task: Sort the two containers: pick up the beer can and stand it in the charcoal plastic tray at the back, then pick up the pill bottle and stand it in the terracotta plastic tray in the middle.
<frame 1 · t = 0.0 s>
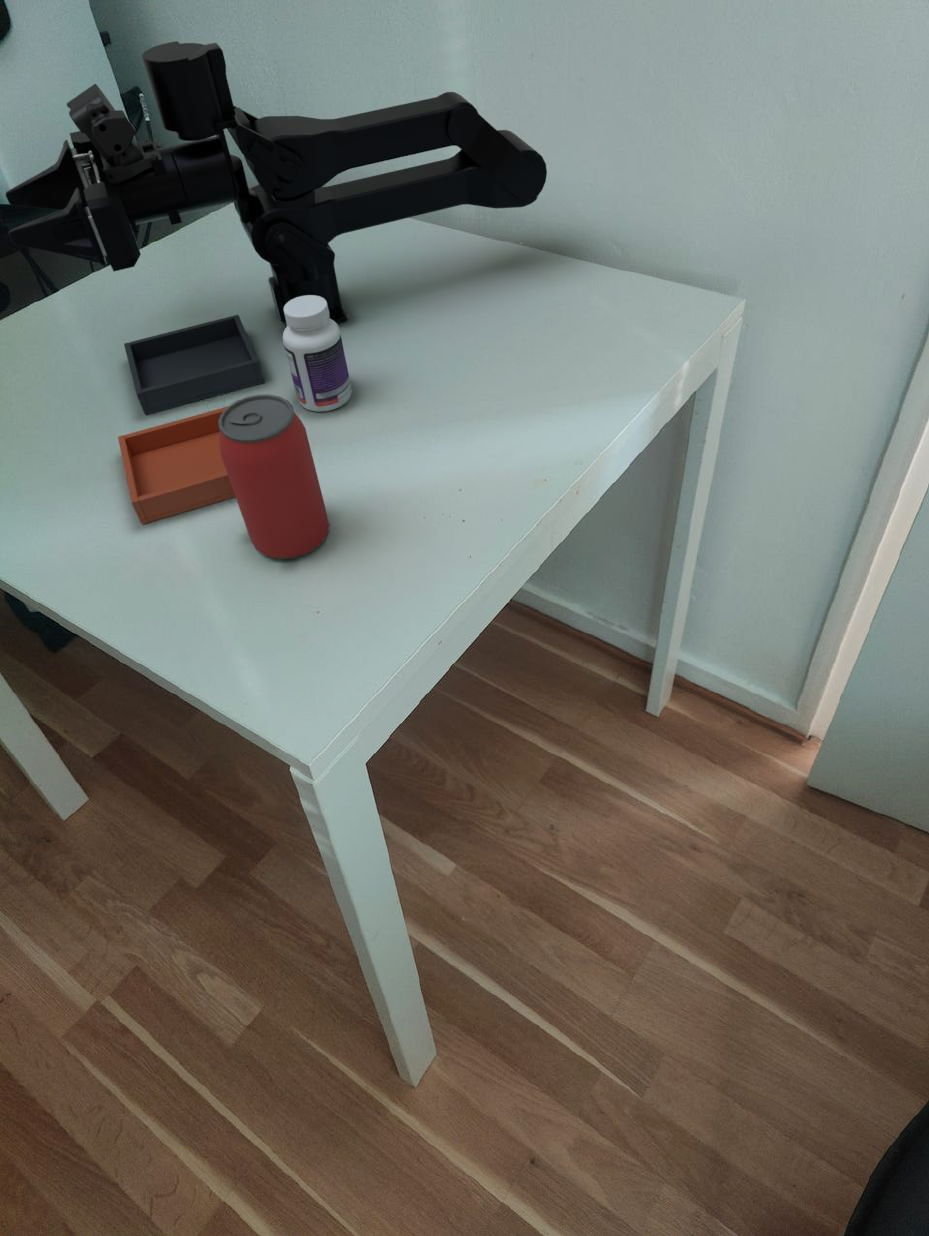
hand: (9, 217, 79), 17 cm above the table, tool horizontal, fingers open, 9 cm apart
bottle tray: (195, 472, 79), on the table
pill bottle: (325, 398, 85), on the table
beer can: (292, 537, 72), on the table
can tray: (197, 373, 90), on the table
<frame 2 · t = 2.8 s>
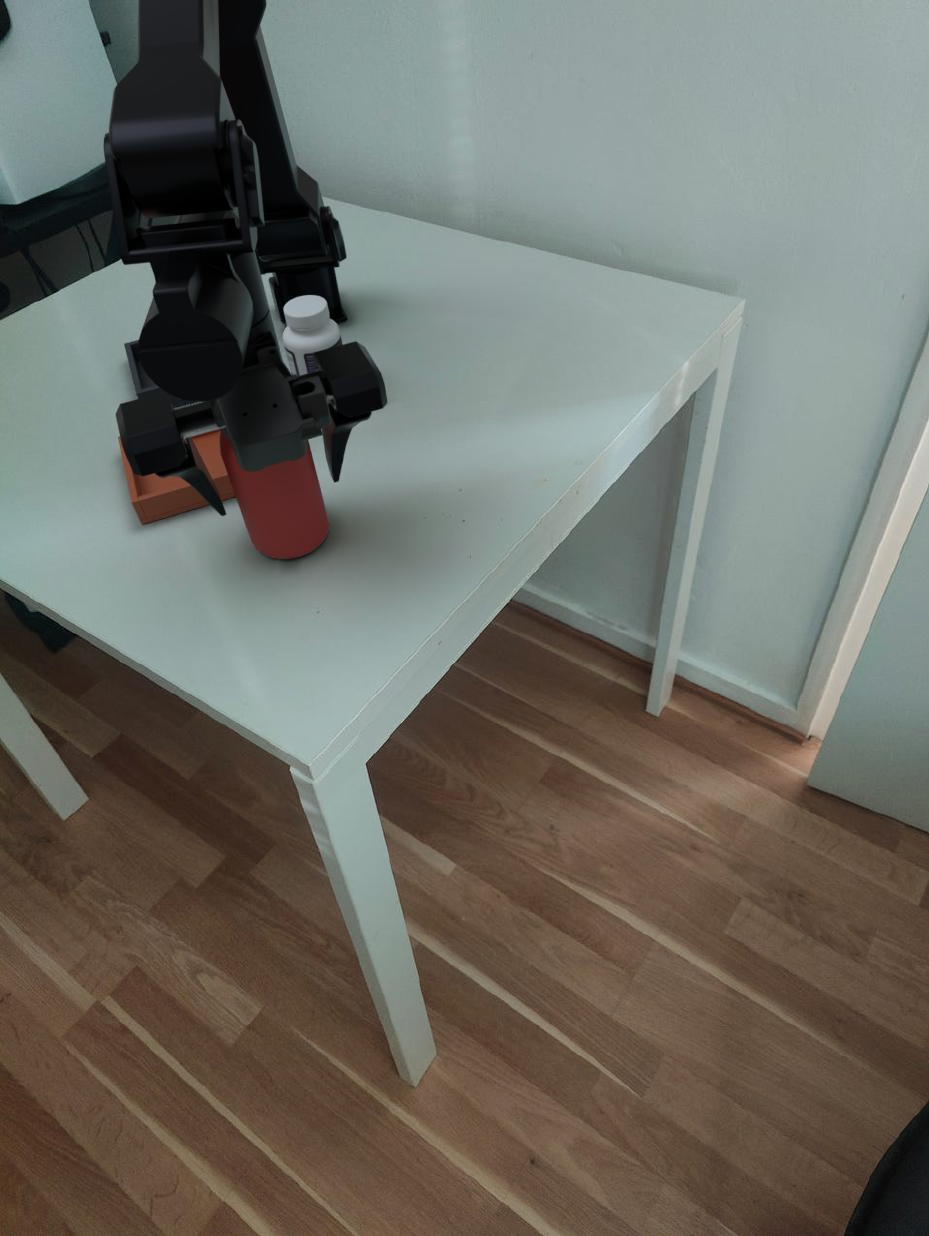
hand: (279, 495, 69), 4 cm above the table, tool pointing down
beer can: (292, 537, 72), on the table, touching gripper
everything else where it was.
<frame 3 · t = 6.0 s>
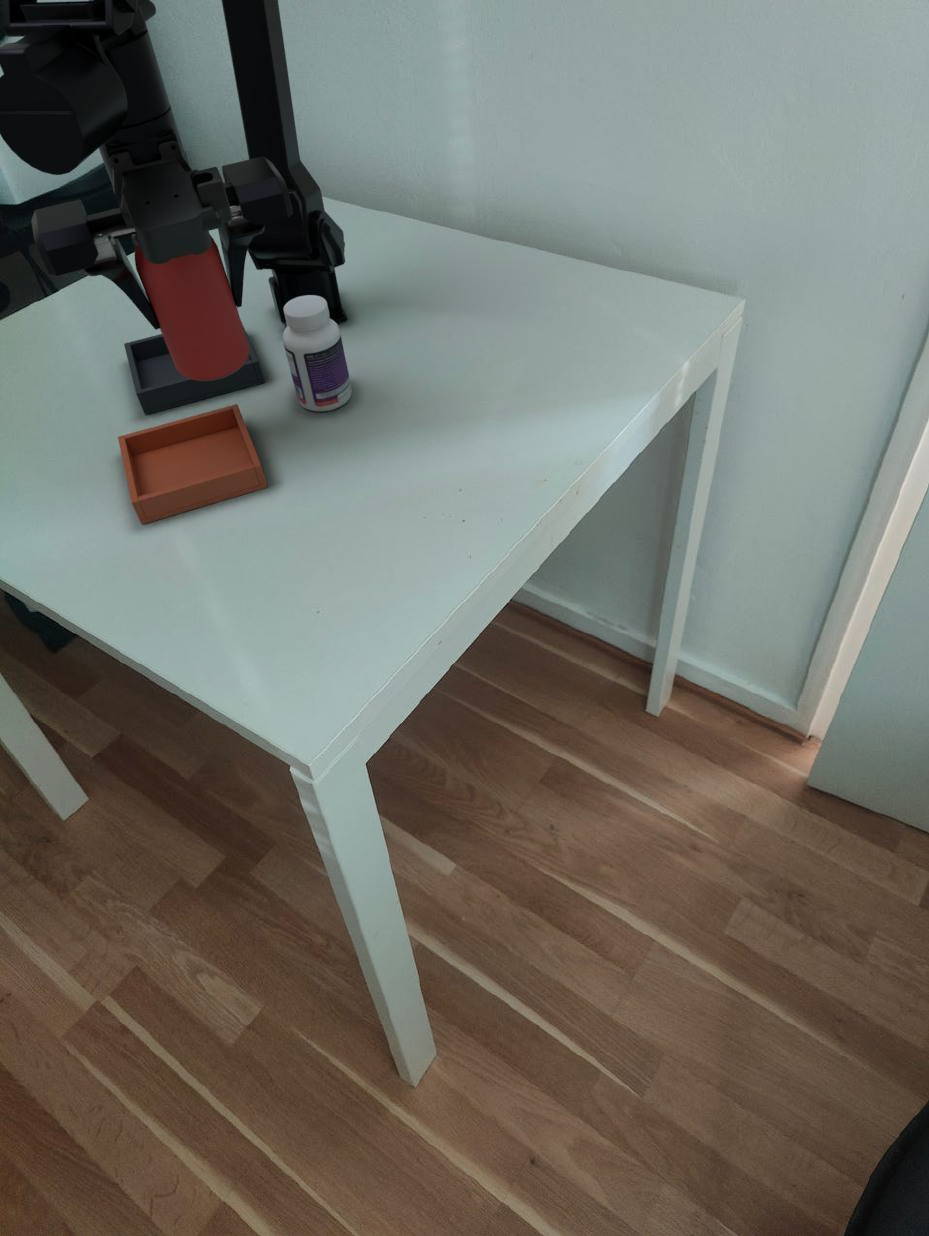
hand: (197, 315, 72), 13 cm above the table, tool pointing down, fingers closed on beer can, 6 cm apart
beer can: (215, 364, 76), point 8 cm above the table, touching gripper
everything else where it was.
when the fingers open (5 cm above the table, at t = 9.2 s): beer can stays where it is, resting on can tray.
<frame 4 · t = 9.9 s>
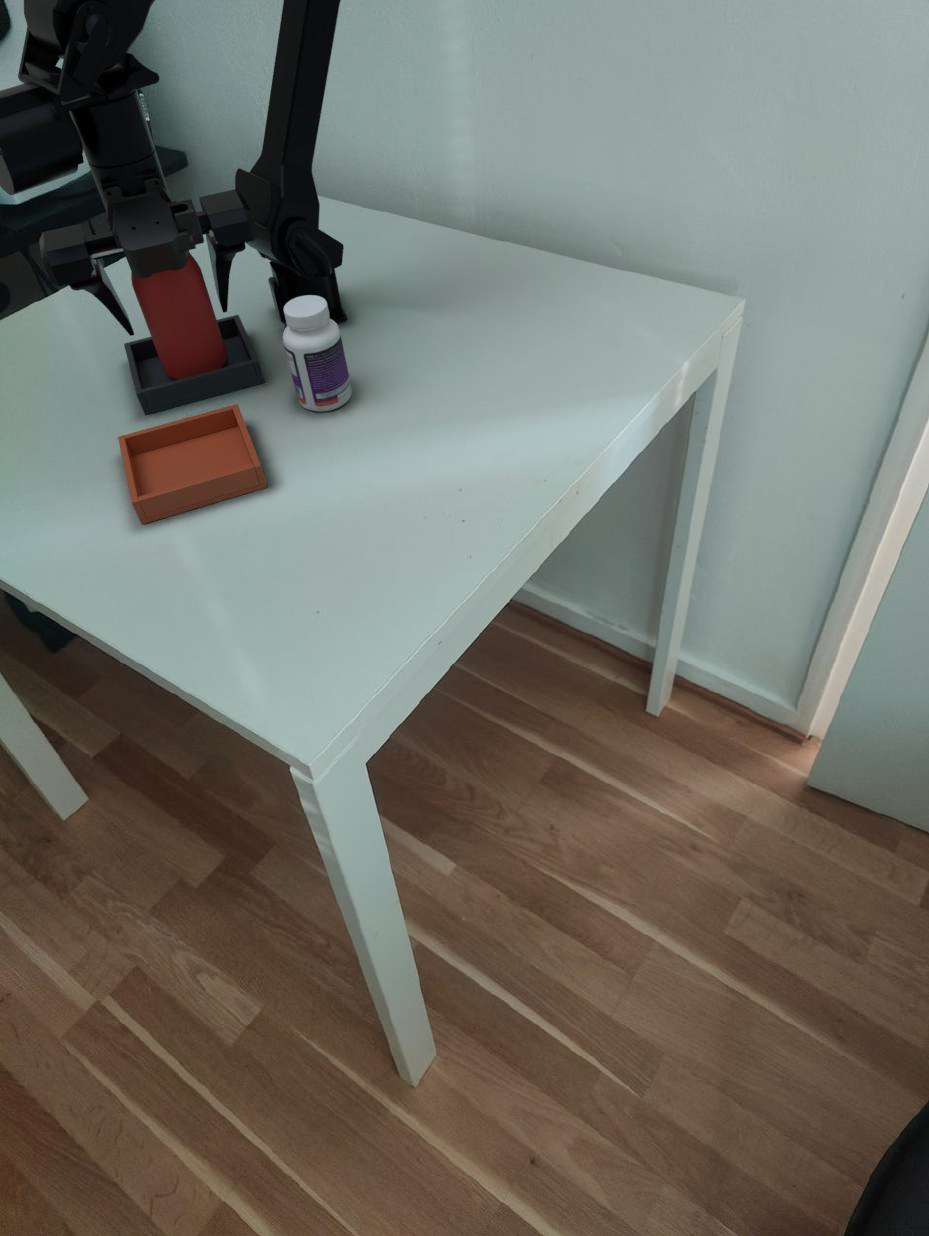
hand: (178, 321, 85), 6 cm above the table, tool pointing down, fingers open, 9 cm apart
beer can: (197, 368, 90), resting on can tray
everything else where it was.
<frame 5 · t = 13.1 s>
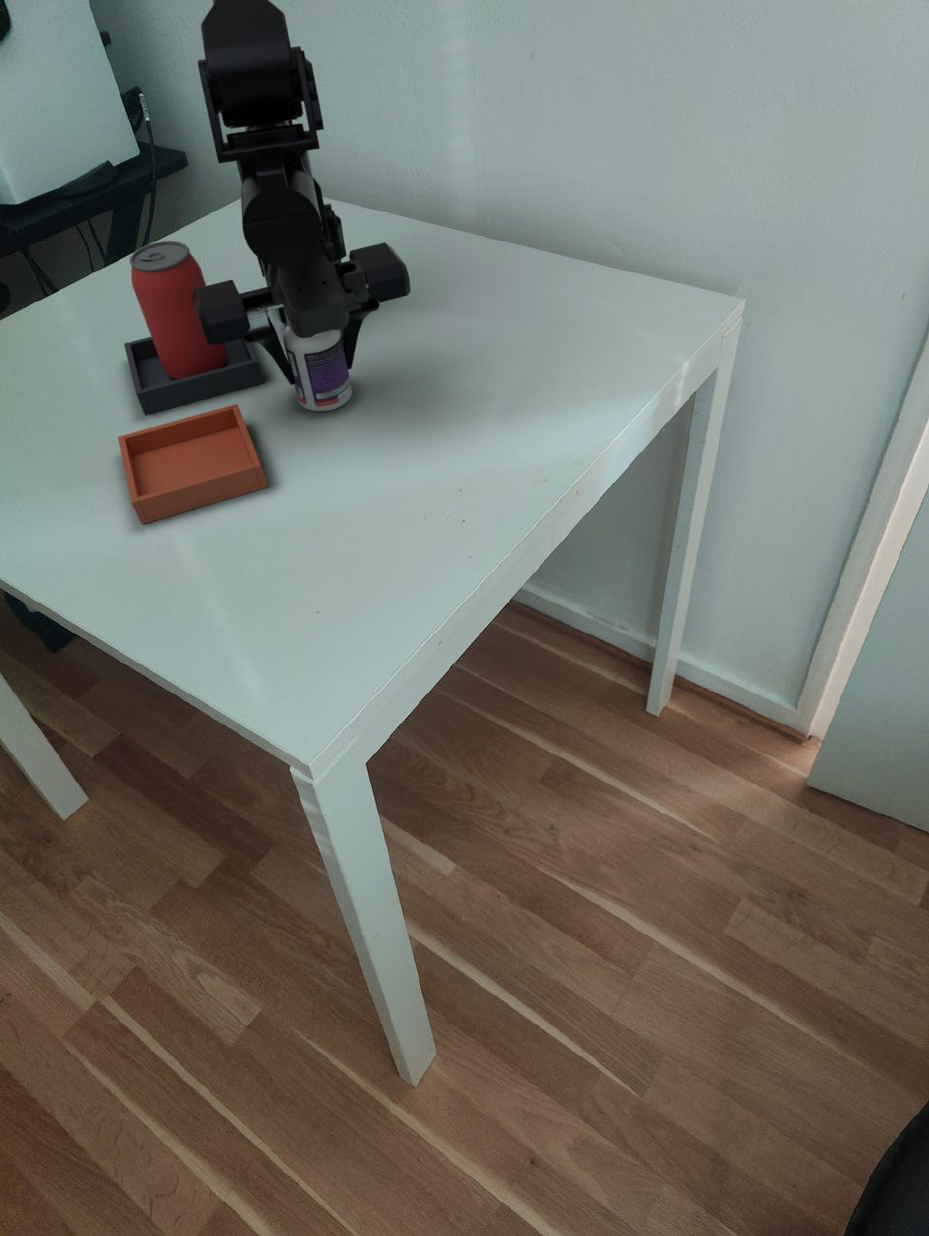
hand: (320, 375, 83), 3 cm above the table, tool pointing down, fingers closed on pill bottle, 5 cm apart
pill bottle: (325, 398, 85), on the table, touching gripper
everything else where it was.
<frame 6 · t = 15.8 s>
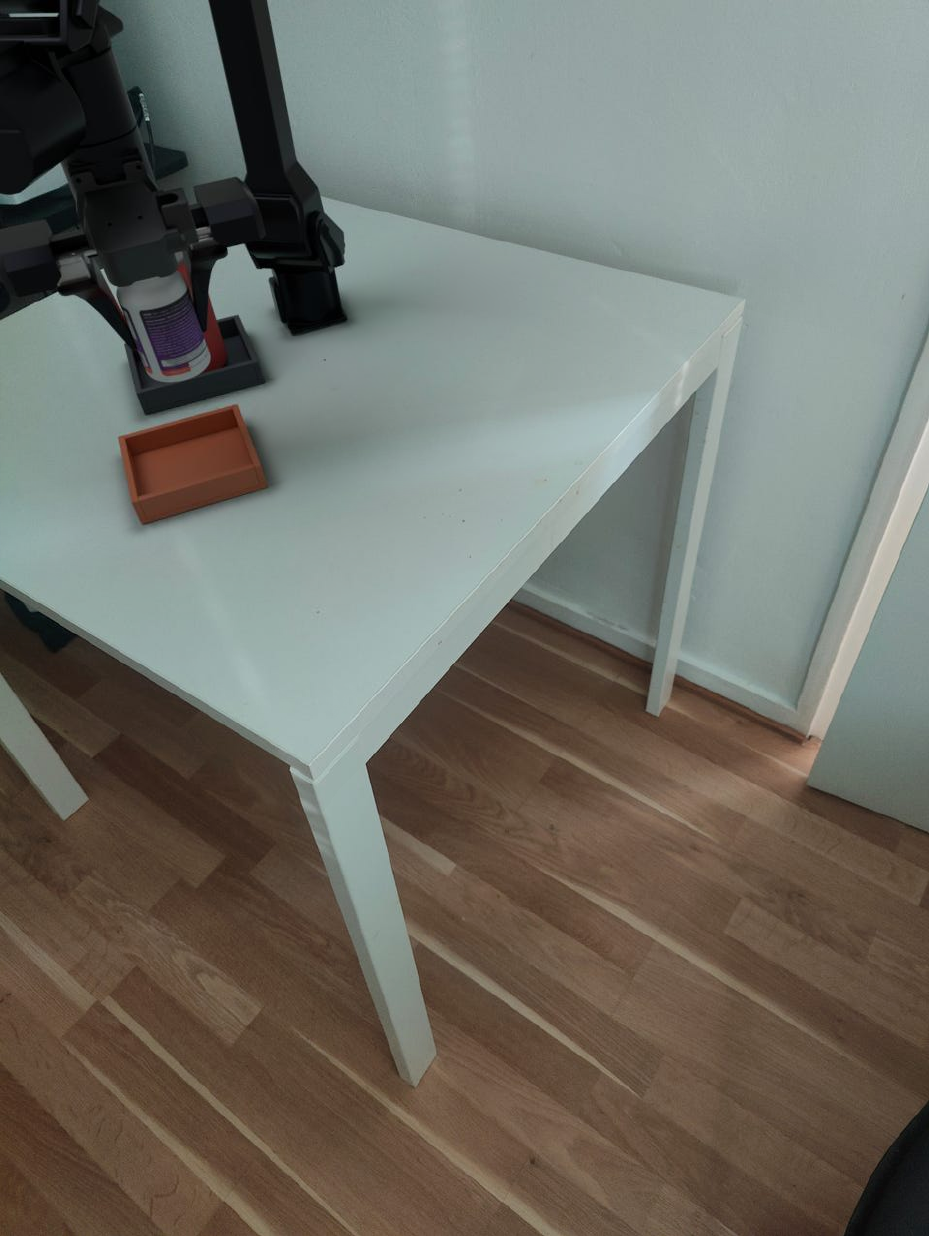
hand: (169, 339, 70), 13 cm above the table, tool pointing down, fingers closed on pill bottle, 5 cm apart
pill bottle: (180, 368, 72), point 10 cm above the table, touching gripper
everything else where it was.
when the fingers open (3 cm above the table, at t = 18.5 s): pill bottle stays where it is, resting on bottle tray.
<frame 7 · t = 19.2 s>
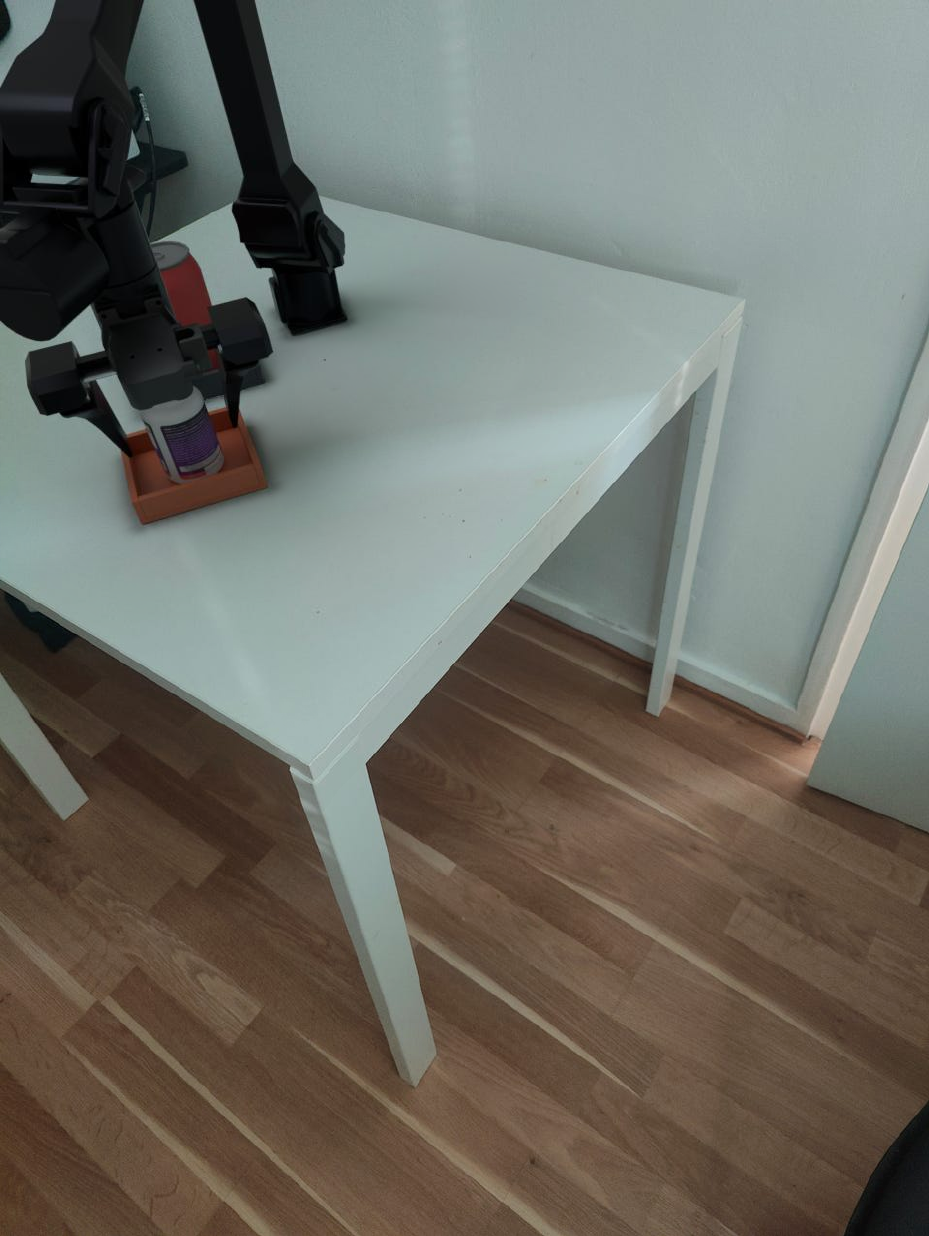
hand: (183, 439, 76), 4 cm above the table, tool pointing down, fingers open, 9 cm apart
pill bottle: (196, 469, 79), resting on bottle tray
everything else where it was.
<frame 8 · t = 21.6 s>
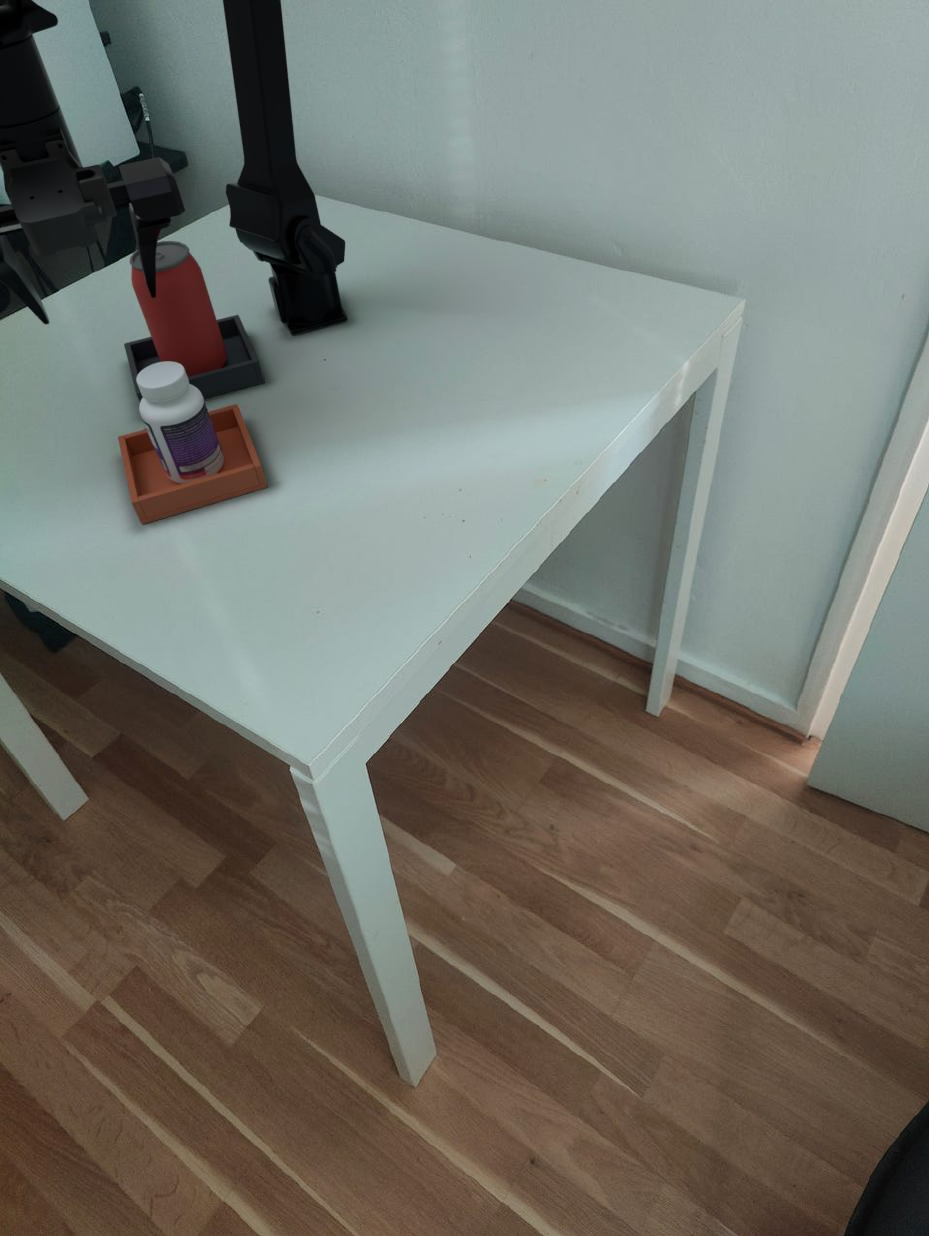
hand: (100, 308, 76), 12 cm above the table, tool pointing down, fingers open, 9 cm apart
nothing on the table moved.
at the end: beer can inside the target area in the can tray (0.4 cm from its centre), point 0.3 cm above the can tray's base; pill bottle inside the target area in the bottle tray (0.2 cm from its centre), point 0.3 cm above the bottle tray's base; pill bottle tilted 0° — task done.
